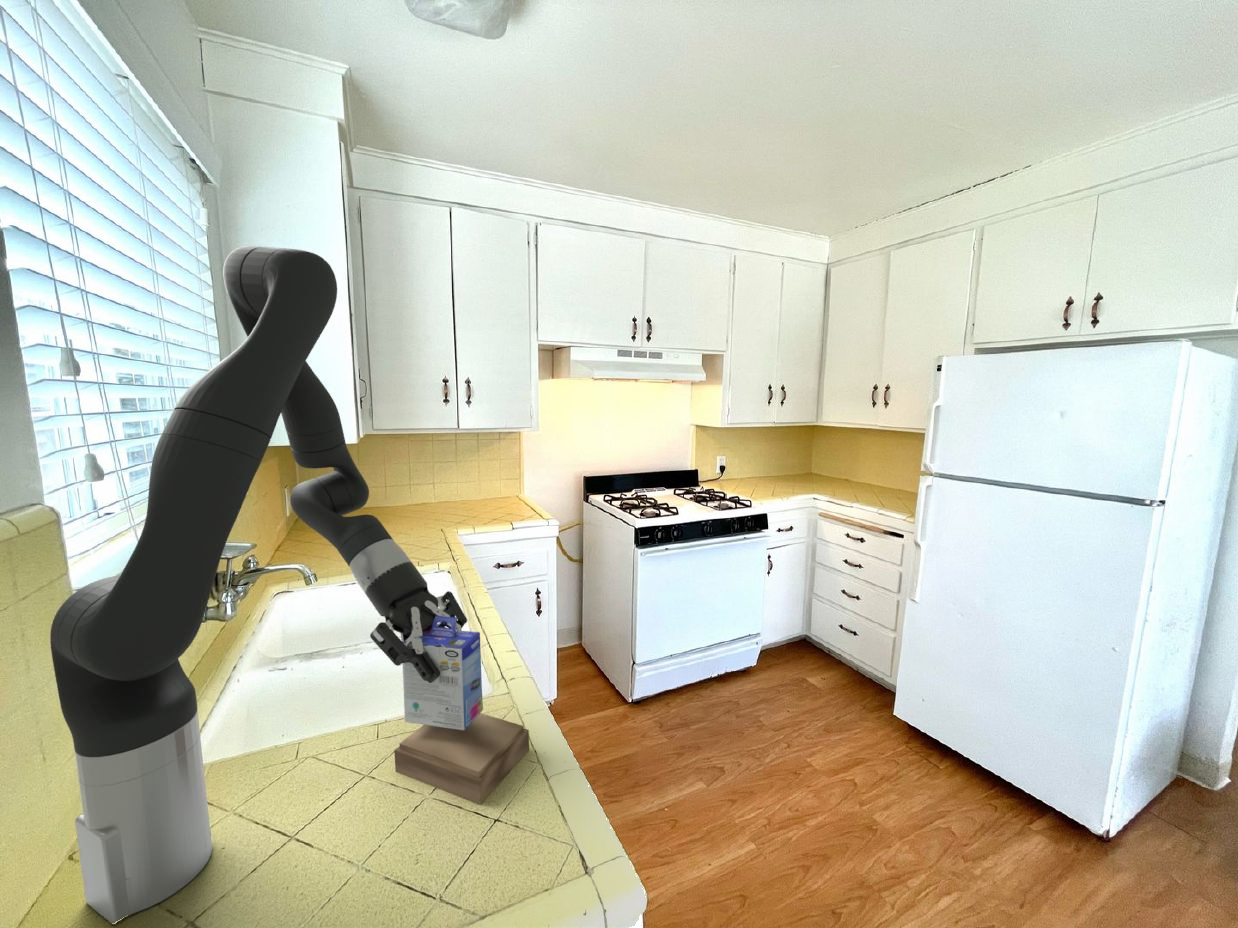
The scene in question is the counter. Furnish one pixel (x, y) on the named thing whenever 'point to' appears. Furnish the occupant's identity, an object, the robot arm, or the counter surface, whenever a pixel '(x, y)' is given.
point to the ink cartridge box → (445, 679)
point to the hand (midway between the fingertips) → (452, 667)
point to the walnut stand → (463, 756)
